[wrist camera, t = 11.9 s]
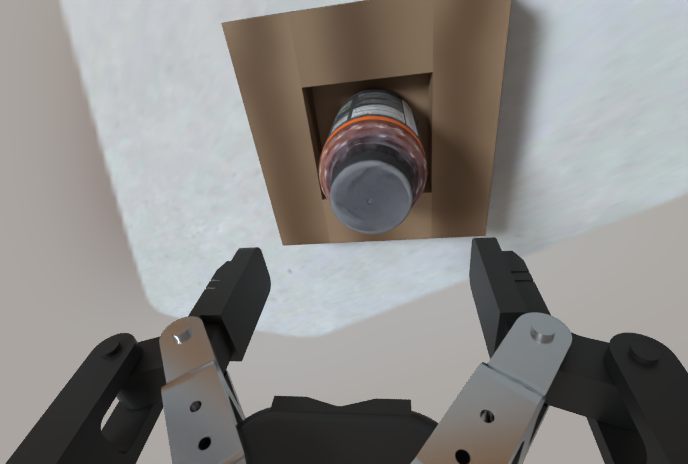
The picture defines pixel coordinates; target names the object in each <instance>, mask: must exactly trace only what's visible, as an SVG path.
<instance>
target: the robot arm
mask: <svg viewBox="0 0 688 464" xmlns="http://www.w3.org/2000/svg"><path fill="white" fill-rule="evenodd" d="M469 276H470V286H471V290H472V294H473V298H474V301H475V305H476V308H477V312H478V316H479V320H480V323H481V327H482V331H483V334H484V338H485V341H486V345H487V349H488V353H489V356H490V361H489V362H488V363H487V364H486V363H484V362H483V363H481V364H480V365H479V366H478V367H477V368H476V370H475V371H474V373H473V374H472V376H471V377H470V379H469V380H468V382H467V383H466V384H465V386H464V387H463V389H462V390H461V392H460V393H459V395H458V396H457V398H456V399H455V400H454V402H453V404H452V405H451V406H450V408H449V409H448V411H447V412H446V414H445V415H444V417H443V418H442V420H441V421H440V422H439V424H438V423H437V422H436V421H434V420H432V419H431V418H428V417H427V416H425V415H422V414H420V413H417V412H414V411H411V400H403V399H402V400H401V399H372V400H368V401H363V402H359V403H355V404H350V405H346V406H334V405H331V404H328V403H325V402H321V401H318V400H315V399H312V398H309V397H293V396H274V399H273V402H272V406H271V407H270V408H266V409H264V410H261V411H258V412H256V413H254V414H252V415H251V416H249V417H247V418H245V416H244V414H243V411H242V408H241V406H240V403H239V400H238V397H237V394H236V392H235V389H234V386H233V384H232V381H231V378H230V375H229V373H228V371H227V366H228V364H229V362H230V361H242V359H243V357H244V355H245V352H246V349H247V347H248V345H249V342H250V340H251V337H252V335H253V332H254V330H255V327H256V325H257V322H258V320H259V317H260V315H261V312H262V310H263V307H264V305H265V302H266V300H267V297H268V295H269V292H270V287H271V281H270V276H269V273H268V270H267V267H266V263H265V260H264V257H263V254H262V251H261V249H260V248H258V247H256V248H240V249H238V251H237V252H236V254H235V256H234V257H233V259H232V261H227V262H226V263H225V264H223V265H222V266H221V267H220V268H219V269H218V270H217V271H216V272H215V274H214V276H213V277H212V279H211V281H210V282H209V284H208V285H207V287H206V289H205V290H204V292H203V293H202V295H201V296H200V298H199V300H198V301H197V303H196V304H195V306H194V308H193V309H192V311H191V313H190V314H189V316H188V317H184V318H181V319H178V320H176V321H174V322H173V323H171V325H169V326H168V327H167V328H166V329H165V330H164V331H163V332H162V334H161V336H160V337H157V338H153V339H149V340H145V341H141V342H137V341H136V339H135V338H134V336H132V335H131V334H129V333H120V334H117V335H114V336H111V337H110V338H107V339H105V340H104V341H102V342H101V343H100V344H99V345H97V346H96V347H95V348H94V349H93V351H92V352H91V353H90V354H89V356H88V357H87V358H86V360H85V361H84V362H83V363H82V365H81V366H80V367H79V369H78V370H77V371H76V372H75V374H74V375H73V377H72V378H71V379H70V380H69V382H68V383H67V384H66V386H65V387H64V388H63V389H62V391H61V392H60V393H59V395H58V396H57V397H56V399H55V400H54V401H53V402H52V404H51V405H50V406H49V408H48V409H47V410H46V412H45V413H44V414H43V415H42V417H41V418H40V420H39V421H38V422H37V423H36V425H35V426H34V427H33V428H32V430H31V431H30V432H29V434H28V435H27V436H26V438H25V439H24V440H23V442H22V443H21V444H20V445H19V447H18V448H17V449H16V451H15V452H14V453H13V455H12V456H11V457H10V458H9V460H8V461H7V462H6V464H136V462H137V460H138V458H139V455H140V454H141V451H142V449H143V447H144V445H145V443H146V441H147V439H148V437H149V435H150V433H151V431H152V429H153V427H154V425H155V423H156V421H157V419H158V417H159V415H160V413H161V411H162V409H163V407H164V413H165V419H166V426H167V431H168V438H169V445H170V451H171V457H172V463H173V464H523V462H524V459H525V457H526V455H527V453H528V450H529V448H530V446H531V444H532V442H533V440H534V438H535V436H536V434H537V431H538V429H539V427H540V425H541V423H542V421H543V419H544V417H545V415H546V412H547V410H548V408H549V406H554V407H557V408H560V409H563V410H566V411H569V412H573V413H576V414H579V415H582V416H585V417H587V420H588V422H589V425H590V427H591V430H592V432H593V435H594V437H595V440H596V443H597V445H598V448H599V450H600V453H601V455H602V458H603V460H604V463H605V464H688V373H687V371H686V370H685V368H684V367H683V366H682V364H681V363H680V361H679V360H678V358H677V357H676V356H675V354H674V353H673V352H672V351H671V350H670V349H669V348H667V347H666V346H665V345H663V344H662V343H660V342H659V341H657V340H655V339H653V338H650V337H647V336H644V335H641V334H636V333H621V334H618V335H615V336H614V337H613V338H612V339H611V340H610V343H607V342H603V341H599V340H594V339H590V338H586V337H582V336H578V335H576V334H573V333H571V332H570V330H569V329H568V327H567V326H566V325H565V324H564V323H563V322H561V321H560V320H559V319H557V318H555V317H553V316H551V314H550V312H549V311H548V309H547V306H546V304H545V302H544V300H543V298H542V296H541V294H540V292H539V291H538V288H537V286H536V284H535V282H533V278H532V276H531V274H530V273H529V270H528V268H527V266H526V264H525V262H524V260H523V259H522V258H520V257H519V256H518V255H517V254H515V253H514V252H513V251H502V250H501V248H500V246H499V243H498V241H497V239H496V238H495V237H493V238H473V240H472V247H471V259H470V272H469ZM115 397H117V398H118V399H119V402H118V404H117V406H116V407H115V409H114V411H113V412H112V414H111V416H110V417H109V419H108V421H107V422H106V424H105V426H104V427H103V429H102V431H101V422H102V419H103V417H104V415H105V414H106V412H107V410H108V409H109V407H110V406H111V404H112V402H113V401H114V399H115Z"/></svg>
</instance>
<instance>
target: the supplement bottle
mask: <svg viewBox="0 0 688 464" xmlns="http://www.w3.org/2000/svg"><path fill="white" fill-rule="evenodd" d="M427 172H428V170H427V161H426V154H425V152H424V148H423V143H422V141H421V136H420V133H419V129H418V121H416V118H415V115H414V113H413V112H412V109H411V108H410V106H409V105H408V103H407V102H406V101H405V100H404V99H403V98H402V97H401V96H400V95H398V94H397V93H395V92H393V91H390V90H387V89H383V88H370V89H365V90H361V91H359V92H358V93H356V94H354V95H352V96H351V97H350V98H349V99H348V100H346V102H345V103H344V104H343V105H342V107H341V108H340V110H339V111H338V113H337V115H336V118H335V120H334V123H333V125H332V128H331V130H330V133H329V135H328V138H327V140H326V143H325V145H324V148H323V151H322V154H321V157H320V162H319V181H320V185H321V188H322V191H323V193H324V195H325V197H326V198H327V200H328V201H329V202H330V205H331V208H332V211H333V213H334V215H335V216H336V218H337V219H338V220H339V221H340V222H341V223H342V224H343V225H344V226H346V227H348V228H349V229H351V230H353V231H356V232H359V233H363V234H381V233H385V232H388V231H390V230H392V229H394V228H396V227H397V226H398V225H400V224H401V223H402V222H403V221H404V220H405V219H406V217H407V216H408V214H409V212H410V210H411V208H412V207H413V206H414V205H415V203H416V202H417V201H418V200H419V198H420V196H421V194H422V192H423V190H424V188H425V185H426V181H427Z"/></svg>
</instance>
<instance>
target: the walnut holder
mask: <svg viewBox="0 0 688 464" xmlns="http://www.w3.org/2000/svg"><path fill="white" fill-rule="evenodd" d="M510 8H511V0H364V1H358V2H351V3H345V4H338V5H332V6H325V7H319V8H312V9H306V10H299V11H293V12H286V13H279V14H273V15H266V16H260V17H253V18H247V19H241V20H235V21H230V22H225V23H222V27H223V31H224V34H225V38H226V41H227V45H228V49H229V52H230V56H231V59H232V63H233V67H234V70H235V74H236V78H237V81H238V85H239V88H240V92H241V96H242V99H243V103H244V106H245V110H246V114H247V117H248V121H249V125H250V128H251V132H252V135H253V139H254V143H255V146H256V150H257V153H258V157H259V161H260V164H261V168H262V172H263V175H264V179H265V182H266V186H267V190H268V193H269V197H270V200H271V204H272V208H273V211H274V215H275V219H276V222H277V226H278V229H279V233H280V237H281V240H282V244H283V245H303V244H323V243H344V242H365V241H385V240H406V239H427V238H447V237H468V236H485V234H486V225H487V216H488V207H489V198H490V189H491V180H492V171H493V162H494V153H495V144H496V134H497V125H498V116H499V107H500V98H501V89H502V80H503V71H504V62H505V53H506V44H507V35H508V26H509V17H510ZM370 88H383V89H387V90H390V91H393V92H395V93H397V94H398V95H400V96H401V97H402V98H403V99H404V100H405V101H406V102H407V103H408V105H409V106H410V108H411V109H412V112H413V113H414V115H415V118H416V121H418V129H419V133H420V136H421V141H422V143H423V148H424V152H425V154H426V161H427V170H428V172H427V181H426V185H425V188H424V190H423V192H422V194H421V196H420V198H419V200H418V201H417V202H416V203H415V205H414V206H413V207H412V208H411V210H410V212H409V214H408V216H407V217H406V219H405V220H404V221H403V222H402V223H401V224H400V225H398V226H397V227H396V228H394V229H392V230H390V231H388V232H385V233H381V234H363V233H359V232H356V231H353V230H351V229H349V228H348V227H346V226H344V225H343V224H342V223H341V222H340V221H339V220H338V219H337V218H336V216H335V215H334V213H333V211H332V208H331V205H330V202H329V201H328V200H327V198H326V197H325V195H324V193H323V191H322V188H321V185H320V181H319V162H320V157H321V154H322V151H323V148H324V145H325V143H326V140H327V138H328V135H329V133H330V130H331V128H332V125H333V123H334V120H335V118H336V115H337V113H338V111H339V110H340V108H341V107H342V105H343V104H344V103H345V102H346V100H348V99H349V98H350V97H351V96H352V95H354V94H356V93H358V92H359V91H361V90H365V89H370Z"/></svg>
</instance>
